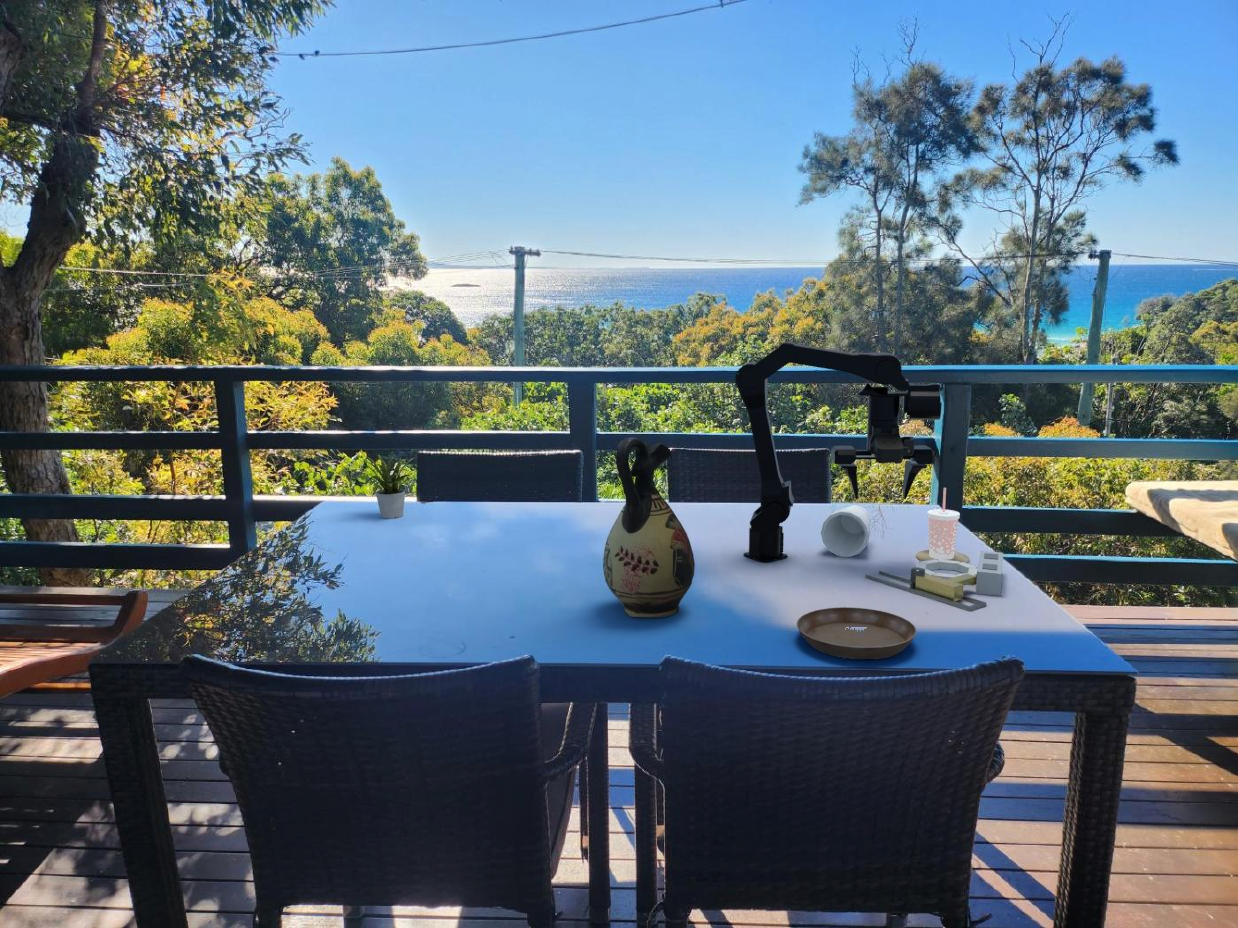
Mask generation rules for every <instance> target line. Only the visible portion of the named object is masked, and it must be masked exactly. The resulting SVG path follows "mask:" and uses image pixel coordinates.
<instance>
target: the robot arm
mask: <svg viewBox="0 0 1238 928" xmlns="http://www.w3.org/2000/svg"><path fill="white" fill-rule="evenodd" d="M791 363H792V364H796V365H804V366H808V367H813V368H814V367H815V368H819V369H821V368H822V369H826V370H831V371H838V372H842V373H843V372H844V373H849V374H852V375H855V376H857V377H860V378H862V379H865V380H868V381H870V382H873V383H876V384H879V385H882V386H872V385H871V383H870V382H865V383H866V384H865V385H864V386H863V387H862V388H861V389H860V390H858V396H861V397H864V396H865V397H867V396H868V405H867V426H866V427H867V432H866V434H867V435H866V449H856V448H855V447H854V446H852V445H833V446H832V448H831V450H830V460H831V461H832V462H833V464H834V465H838V466H839V467H840V469H844V470H845V473H846V475H847V477H848V481H849V483H850V487H851V490H852V493H853V496H854V499H856V500H857V499H859V486H858V485H859V484H858V483H859V482H858V466H857V465H856V463H855V462H856V461H857V460H863V461H864V460H867V461H868V460H875V461H876V463H878V464H882V465H883V464H886V463H888V464H893V463H894V464H903V460H904V461H905V462H904V472H903V483H902V498H903V499H904V500H906V499H908V495H909V493H910V490H911V488H912V486H913V483H914V481H915V478H916V477H917V476H918V474H919V472H921V470H922V469H927V468H928V465H935V464H936V463H935V461H936V454H935V453H936V452H935V451H934V450H933V449H932V448H931V447H929V446H928V445H918V444H915V438H914V437H913V436H902V437H901V435H900V424H899V422H900V400H901V399H900V397H902V415H903V414H904V415H906V416H907V417H908V420H926V421H927V420H928V421H929V420H931V421H932V420H935V421H936V420H937V421H939V420H941V415H942V405H943V403H942V401H941V385H940V383H938V382H937V383H927V384H921V383H920V384H916V383H915V384H911V383H910V381H909V379H908V378H905V377H904V376H903V374H902V371H903V370H902V368H903V367H902V365H901V363H902V362H900V360H899V359H898V357H897V356H896V355H894V354H893V353H890V352H887V351H884V352H883V351H879V352H878V351H877V352H876V351H875V352H848V351H842V350H837V349H830V348H825V347H824V348H823V347H818V346H812V345H808V344H807V345H806V344H801V343H795V342H792V341H789V340H788V341H785V342H782V343H781V344H780V345H779V346H778V347H777V348H775V349H774V350H773V351H771V352H770V353H768V354H767V355H765V356H764V357H762V358H761V359H760V360H758V361H757V362H756V361H749V362H746V363H745V364H743V365H742V366H741V367H740V368H738V370H737V371H736V374H735V377H734V379H735V386H736V387H737V390H738V393H739V395H740V397H741V400H742V402H743V404H744V407H745V408H746V411H747V413H748V418H749V424H750V428H751V435H752V439H753V444H754V449H755V454H756V460H757V464H758V469H759V475H760V506H759V507H758V508H756V510H754V511H753V514H752V516H751V519H750V521H749V525H750V527H749V528H748V530H749V531H748V551H747V552H744V553H743V556H744V557H747V558H750V559H753V560H756V561H759V562H763V563H769V562H772V561H776V560H777V561H778V560H782V559H786V558H788V554H786V553H784V532H783V531H784V530H783V527H784V526H782V525H780V524H782V523H784V522H786V521H787V519H788V518H789V517H790V514H791V511H792V510H791V509H792V507H793V506H794V503H795V496H793V492H792V481H791V480H787V481H784V479H783V476H782V475H781V472H780V467H779V462H778V458H777V451H776V447H775V441H774V435H773V431H772V430H773V429H772V426H771V419H770V415H769V409H768V408H769V407H768V395H769V394H768V379H769V377H771V376H773V375H774V374H775V373H777V372H778V371H779V370H781V369H782V368H784V367H785V366H786V365H788V364H791ZM888 385H890V386H892V387H893V388H895V389H896V390H897V391H891V390H890V391H889V388H888Z"/></svg>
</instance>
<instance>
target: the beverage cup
mask: <svg viewBox="0 0 1238 928" xmlns="http://www.w3.org/2000/svg"><path fill="white" fill-rule="evenodd" d="M942 492H943V493H942V495H943V496H942V509H940V508H939V509H938V508H937V509H930V510H927V517H928V550H929V556H930V557H932V558H934V559H941V560H949V559H953V557H954V551H955V548H956V547H955V546H956V541H957V539H956V538H957V532H958V525H959V524H958V522H959V519H960V518H961V517H960V516H961V514H960V512H959V511H957V510H953V509H952V510H951V509H946V498H947V497H946V496H947V487H943V491H942Z"/></svg>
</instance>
